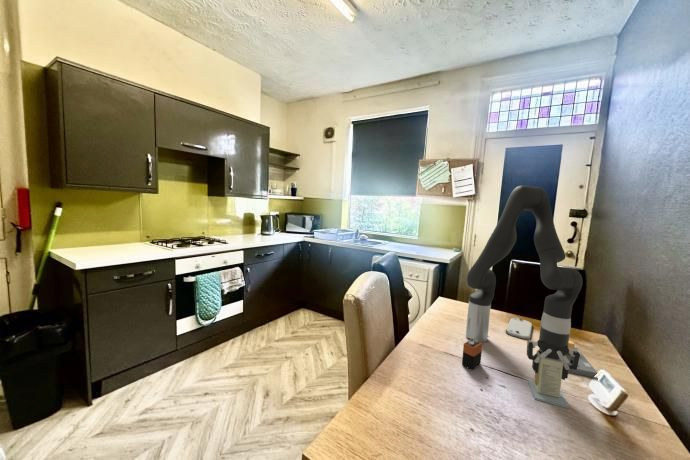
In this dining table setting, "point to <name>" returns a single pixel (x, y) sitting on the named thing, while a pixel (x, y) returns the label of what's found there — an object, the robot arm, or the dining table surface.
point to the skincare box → (549, 376)
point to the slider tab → (571, 345)
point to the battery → (472, 354)
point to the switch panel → (581, 365)
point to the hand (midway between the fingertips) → (548, 374)
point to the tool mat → (548, 396)
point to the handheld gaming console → (519, 328)
